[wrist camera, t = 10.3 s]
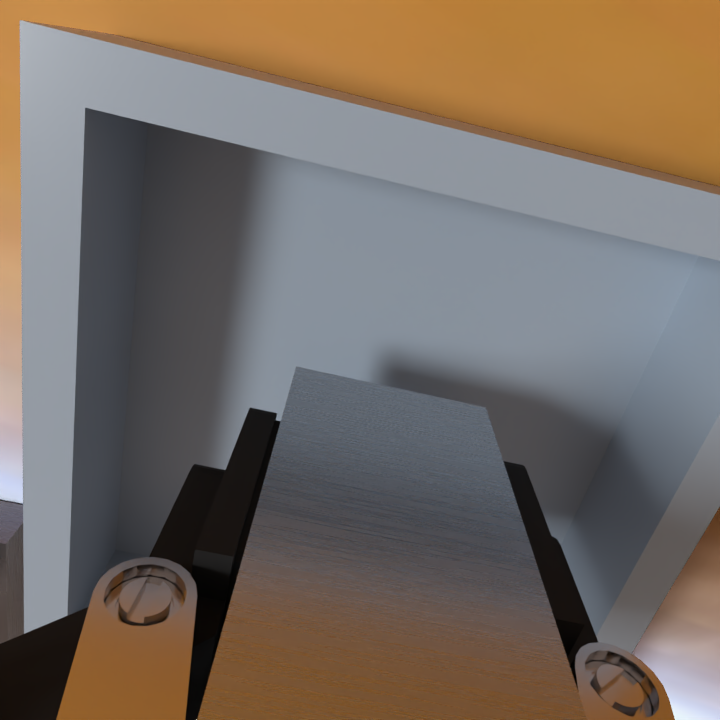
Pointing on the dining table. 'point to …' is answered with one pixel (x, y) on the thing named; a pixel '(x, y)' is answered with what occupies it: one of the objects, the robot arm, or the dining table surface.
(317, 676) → the block
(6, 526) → the stand
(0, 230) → the dining table surface
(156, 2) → the dining table surface
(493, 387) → the tray
